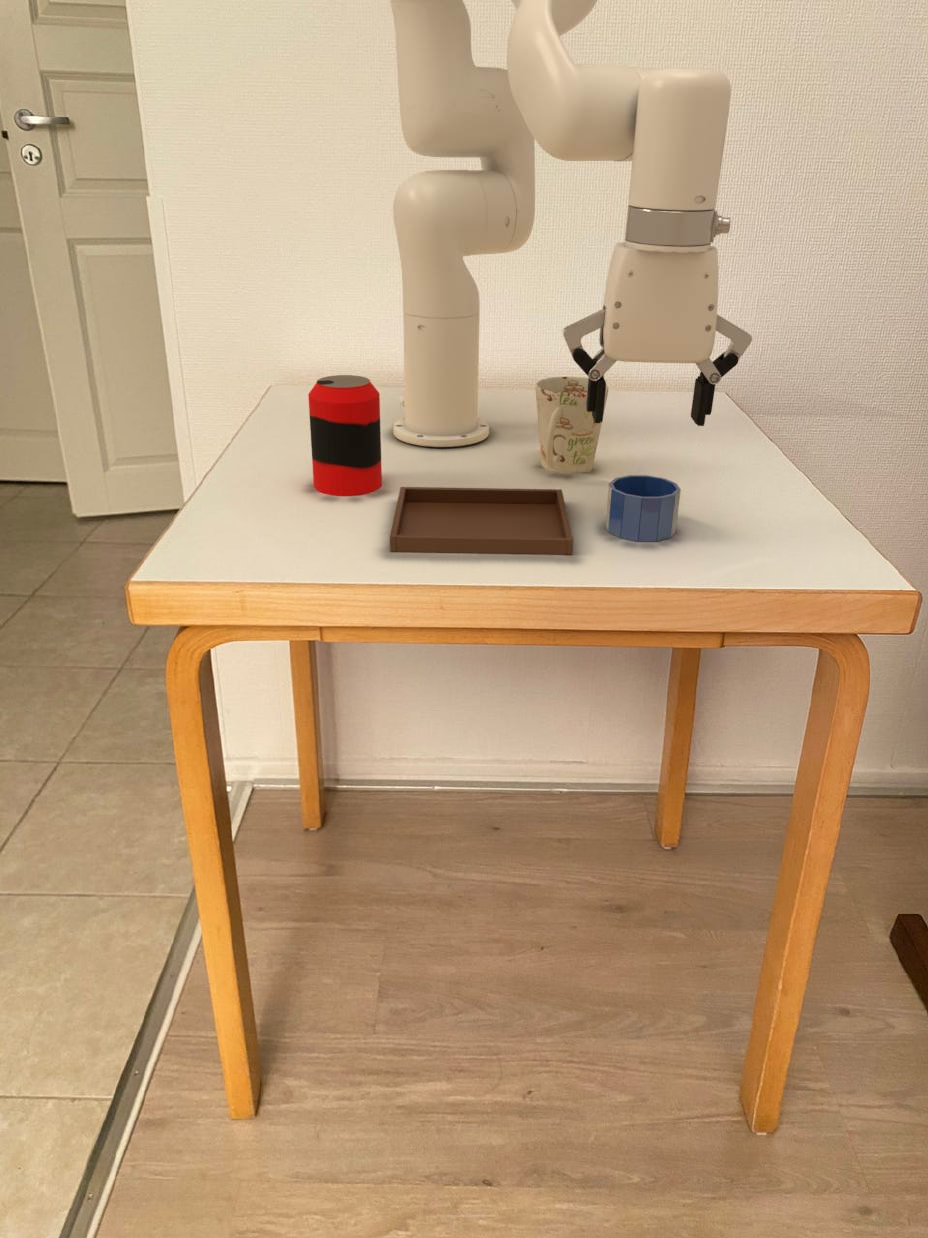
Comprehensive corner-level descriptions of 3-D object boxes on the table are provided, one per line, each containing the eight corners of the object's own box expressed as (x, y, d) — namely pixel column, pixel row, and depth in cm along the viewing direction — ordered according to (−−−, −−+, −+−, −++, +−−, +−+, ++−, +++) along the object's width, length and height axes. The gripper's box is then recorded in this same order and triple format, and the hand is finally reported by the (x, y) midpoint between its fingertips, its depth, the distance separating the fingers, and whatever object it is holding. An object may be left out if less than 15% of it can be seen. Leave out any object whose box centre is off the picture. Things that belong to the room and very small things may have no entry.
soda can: (307, 481, 111) (301, 375, 106) (372, 474, 113) (368, 371, 108) (322, 503, 105) (316, 392, 99) (390, 495, 107) (387, 386, 102)
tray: (390, 556, 92) (389, 536, 91) (400, 504, 105) (400, 486, 104) (572, 559, 92) (573, 540, 91) (560, 506, 105) (561, 489, 104)
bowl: (592, 528, 99) (595, 481, 97) (642, 516, 102) (647, 471, 100) (636, 551, 94) (641, 502, 92) (688, 537, 97) (694, 490, 95)
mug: (608, 462, 119) (615, 380, 114) (585, 495, 108) (591, 406, 104) (542, 454, 121) (546, 373, 117) (513, 486, 111) (516, 398, 106)
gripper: (756, 227, 89) (728, 412, 97) (566, 222, 89) (554, 407, 97) (778, 237, 82) (746, 434, 90) (574, 232, 82) (559, 429, 90)
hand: (647, 420), depth 94 cm, fingers open, 9 cm apart
